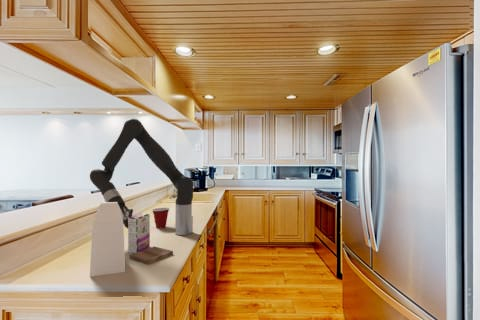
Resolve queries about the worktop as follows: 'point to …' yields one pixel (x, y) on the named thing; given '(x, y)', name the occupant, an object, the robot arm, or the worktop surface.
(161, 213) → the plastic cup
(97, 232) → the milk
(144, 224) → the candy bar box
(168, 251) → the board
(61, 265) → the worktop surface
